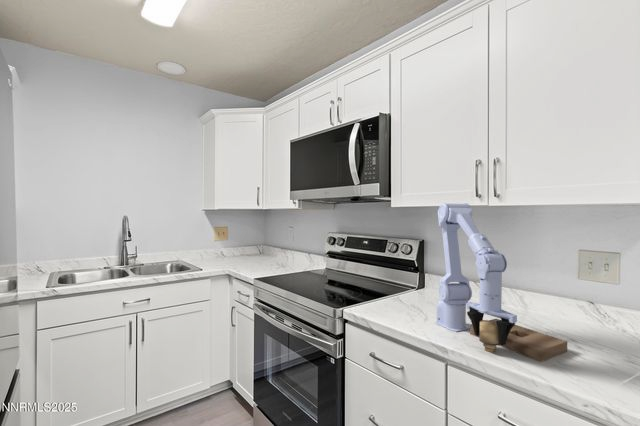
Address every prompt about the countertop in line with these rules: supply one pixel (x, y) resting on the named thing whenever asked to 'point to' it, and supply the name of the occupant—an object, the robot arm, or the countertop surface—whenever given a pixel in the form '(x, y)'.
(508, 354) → the countertop surface
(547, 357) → the walnut board
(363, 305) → the countertop surface
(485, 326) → the oak peg
